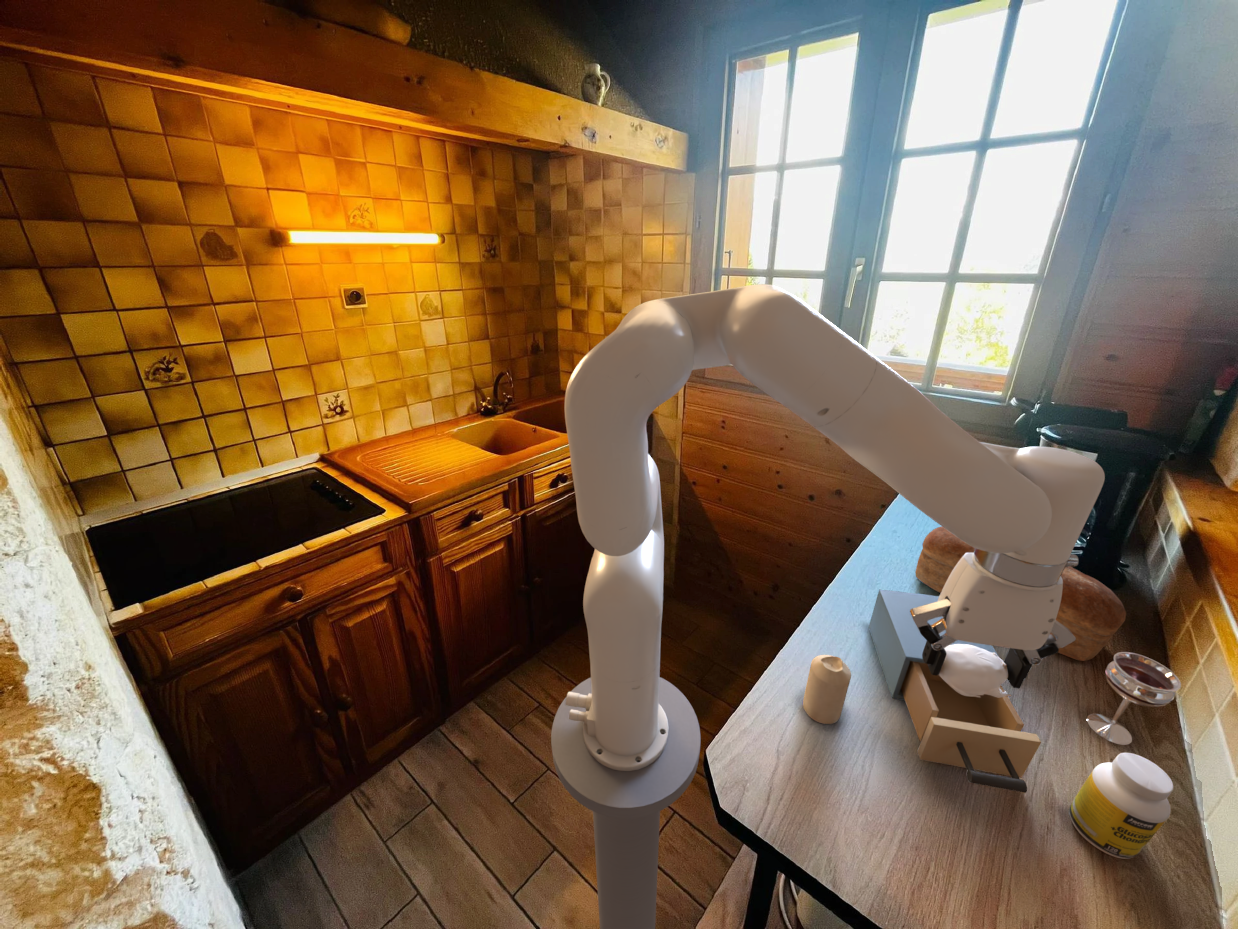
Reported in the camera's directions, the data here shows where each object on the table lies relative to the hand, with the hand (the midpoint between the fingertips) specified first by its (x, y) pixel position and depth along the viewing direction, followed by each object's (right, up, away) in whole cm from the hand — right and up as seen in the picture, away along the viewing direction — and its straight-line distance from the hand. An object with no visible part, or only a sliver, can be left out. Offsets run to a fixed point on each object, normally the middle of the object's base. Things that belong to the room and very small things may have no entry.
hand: (969, 672), depth 61 cm
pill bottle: (+16, -19, -1) cm, 25 cm away
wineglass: (+29, -13, +11) cm, 34 cm away
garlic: (0, -1, +1) cm, 1 cm away
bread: (+30, -2, +34) cm, 46 cm away
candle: (-12, -12, +15) cm, 23 cm away
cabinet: (+8, -8, +22) cm, 25 cm away
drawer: (+5, -13, +10) cm, 17 cm away
